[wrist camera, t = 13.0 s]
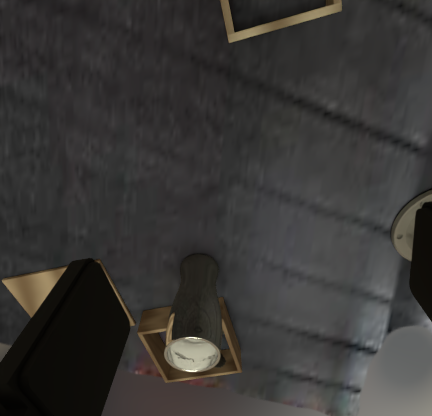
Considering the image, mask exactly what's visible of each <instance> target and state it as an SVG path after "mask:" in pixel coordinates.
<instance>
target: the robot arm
mask: <svg viewBox="0 0 432 416" xmlns="http://www.w3.org/2000/svg"><path fill="white" fill-rule="evenodd" d="M391 239H392V243H393V245H394V248H395V249H396V250H397V251H398V253H399V254H400V255H401V256H403V257H404V258H406V259H407V260H409V261H411V270H410V281H409V283H410V289H411V292H412V294H413V296H414V297H415V299H416V300H417V301H418V303H419V304H420V306H421V307H422V309H423V310H424V311H425V313H426V314H427V316H428V317H429V319H430V320H431V321H432V190H430V191H427V192H425V193H423V194H421V195H419V196H418V197H416V198H415V199H413V200H412V201H411V202H409V203H408V204H407V205H406V206H405V207H404V208H403V209H402V210H401V212H400V213H399V214H398V216H397V217H396V219H395V221H394V223H393V226H392V230H391ZM129 332H130V321H129V318H128V316H127V314H126V312H125V311H124V309H123V307H122V305H121V303H120V301H119V299H118V297H117V295H116V293H115V291H114V289H113V287H112V285H111V284H110V282H109V280H108V278H107V276H106V274H105V272H104V270H103V268H102V266H101V264H100V263H99V262H95V261H94V260H93V259H91V258H88V259H82V260H76V261H72V262H71V263H70V264H69V266H68V267H67V268H66V270H65V271H64V273H63V274H62V276H61V277H60V278H59V280H58V281H57V283H56V284H55V286H54V287H53V288H52V290H51V291H50V293H49V294H48V295H47V297H46V298H45V300H44V301H43V303H42V304H41V305H40V307H39V308H38V310H37V311H36V313H35V314H34V315H33V317H32V318H31V320H30V321H29V322H28V324H27V325H26V327H25V328H24V330H23V331H22V332H21V334H20V335H19V337H18V338H17V340H16V341H15V342H14V344H13V345H12V347H11V348H10V349H9V351H8V352H7V354H6V355H5V357H4V358H3V360H2V361H1V362H0V416H101V414H102V411H103V408H104V405H105V402H106V400H107V397H108V394H109V391H110V387H111V385H112V382H113V379H114V376H115V373H116V370H117V367H118V364H119V361H120V359H121V356H122V353H123V350H124V347H125V344H126V341H127V338H128V335H129Z"/></svg>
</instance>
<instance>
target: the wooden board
mask: <svg viewBox="0 0 432 416" xmlns="http://www.w3.org/2000/svg"><path fill="white" fill-rule="evenodd" d="M94 261H95V262H99V263H100V264H101V266H102V268H103V270H104V272H105V274H106V276H107V278H108V280H109V282H110V284H111V285H112V287H113V289H114V291H115V293H116V295H117V297H118V299H119V301H120V303H121V305H122V307H123V309H124V311H125V312H126V314H127V316H128V318H129V321H130V326H134V325H135V324H136V322H135V320H134V319H133V317H132V315H131V313H130V312H129V310H128V308H127V306H126V305H125V303H124V301H123V299H122V297H121V296H120V294H119V292H118V290H117V289H116V287H115V285H114V283H113V282H112V280H111V278H110V276H109V274H108V273H107V271H106V269H105V267H104V266H103V264H102V262H101V260H100V259H99V260H94ZM67 267H68V266H64V267H59V268H54V269H49V270H44V271H39V272H34V273H29V274H24V275H19V276H14V277H9V278H4V279H3V280H2V282H3V283H4V284H5V285H6V287H7V288H8V289H9V290H10V292H11V293H12V294H13V295H14V297H15V298H16V299H17V300H18V302H19V303H20V304H21V305H22V307H23V308H24V309H25V310H26V312H27V313H28V314H29V315H30V317H31V318H32V317H33V315H34V314H35V313H36V311H37V310H38V308H39V307H40V305H41V304H42V303H43V301H44V300H45V298H46V297H47V295H48V294H49V293H50V291H51V290H52V288H53V287H54V286H55V284H56V283H57V281H58V280H59V278H60V277H61V276H62V274H63V273H64V271H65V270H66V268H67Z"/></svg>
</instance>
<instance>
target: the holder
mask: <svg viewBox="0 0 432 416" xmlns="http://www.w3.org/2000/svg"><path fill="white" fill-rule="evenodd" d="M220 2H221V7H222V12H223V17H224V22H225V27H226V31H227V36H228V41H229V43H231V42H234V41H238V40H242V39H245V38H249V37H252V36H256V35H259V34H263V33H266V32H270V31H273V30H277V29H280V28H284V27H287V26H291V25H294V24H298V23H301V22H305V21H308V20H312V19H315V18H319V17H322V16H326V15H329V14H333V13H336V12H340V11H342V2H341V0H326V6H324V7H321V8H317V9H314V10H311V11H307V12H304V13H300V14H297V15H293V16H290V17H286V18H283V19H279V20H276V21H273V22H269V23H266V24H262V25H259V26H255V27H252V28H248V29H245V30H241V31H238V32H234V27H233V22H232V17H231V12H230V7H229V2H228V0H220Z"/></svg>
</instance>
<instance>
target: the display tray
mask: <svg viewBox="0 0 432 416" xmlns="http://www.w3.org/2000/svg"><path fill="white" fill-rule="evenodd" d="M218 299H219V304H220V309H221V316H222V328H223V331H224V334H225V337H226V339H227V342H228V345H229V348H230V349H226V350H220V353H221V354H222V355H223V357H225V360H226V362H225V365H223V367H221V368H217V367H216V368H215V367H213V368H211V369H209V370H206V371H203V372H185V371H181V370H178V369H176V368H174V367H172V366H171V365H170V364H169V363H168V362H167V361H166V359H165V357H164V350H165V345H164V343H163V341H162V339H161V337H160V335H159V333H158V332H162V331H166V329H167V322H168V318H169V313H170V310H171V307H172V306H168V307H163V308H157V309H151V310H145V311H143V314H142V317H141V321H140V325H139V328H138V332H137V333H138V335H139V337H140V339H141V340H142V342H143V344H144V346H145V347H146V349H147V351H148V353H149V354H150V356H151V358H152V359H153V361H154V363H155V365H156V366H157V368H158V370H159V372H160V373H161V375H162V377H163V379H164V380H165V382H166V383H168V382H175V381H182V380H190V379H197V378H204V377H211V376H218V375H226V374H233V373H240V372H242V366H241V350H240V347H239V344H238V341H237V338H236V335H235V332H234V329H233V326H232V323H231V320H230V317H229V314H228V311H227V308H226V305H225V302H224V299H223V297H220V298H218Z"/></svg>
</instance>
